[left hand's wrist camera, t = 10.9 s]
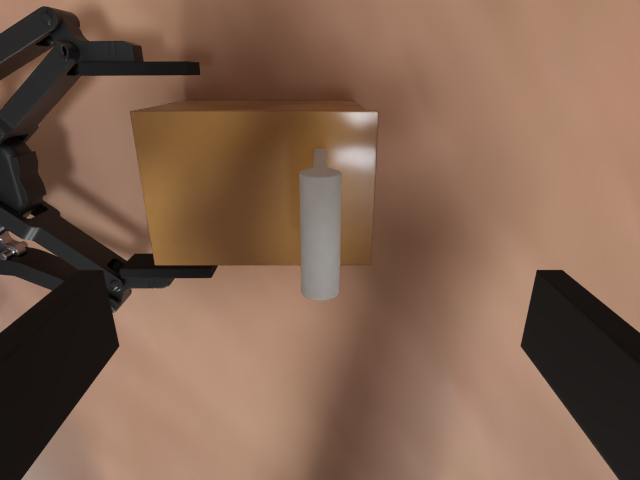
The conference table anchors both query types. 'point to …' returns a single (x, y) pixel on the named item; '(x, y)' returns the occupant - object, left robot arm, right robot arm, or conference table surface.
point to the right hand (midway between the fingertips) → (206, 175)
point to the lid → (260, 189)
